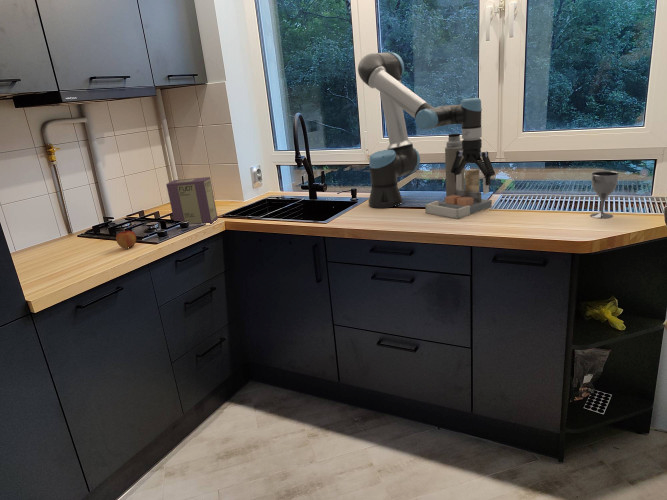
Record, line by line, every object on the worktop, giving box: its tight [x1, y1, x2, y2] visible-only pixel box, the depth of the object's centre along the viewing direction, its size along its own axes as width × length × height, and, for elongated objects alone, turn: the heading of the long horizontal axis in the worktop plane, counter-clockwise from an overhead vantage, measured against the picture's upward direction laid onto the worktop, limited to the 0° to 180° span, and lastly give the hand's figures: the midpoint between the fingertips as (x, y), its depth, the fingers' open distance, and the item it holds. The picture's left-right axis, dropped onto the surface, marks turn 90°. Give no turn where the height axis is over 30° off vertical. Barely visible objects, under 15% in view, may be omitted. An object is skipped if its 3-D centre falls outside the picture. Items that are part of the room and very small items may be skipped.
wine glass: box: [589, 170, 620, 220], centre depth 163 cm, size 8×8×15 cm
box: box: [165, 176, 219, 224], centre depth 211 cm, size 17×9×20 cm, turn 86°
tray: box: [424, 200, 471, 220], centre depth 187 cm, size 16×7×4 cm, turn 37°
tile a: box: [444, 195, 461, 204], centre depth 193 cm, size 4×4×2 cm
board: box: [439, 198, 493, 215], centre depth 193 cm, size 16×14×3 cm
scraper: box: [455, 168, 482, 203], centre depth 193 cm, size 12×6×12 cm, turn 37°
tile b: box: [457, 197, 473, 206], centre depth 188 cm, size 4×4×2 cm
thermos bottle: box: [444, 133, 465, 197], centre depth 208 cm, size 8×8×28 cm
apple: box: [115, 228, 137, 249], centre depth 187 cm, size 7×7×8 cm
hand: (472, 191), depth 195 cm, fingers open, 13 cm apart
